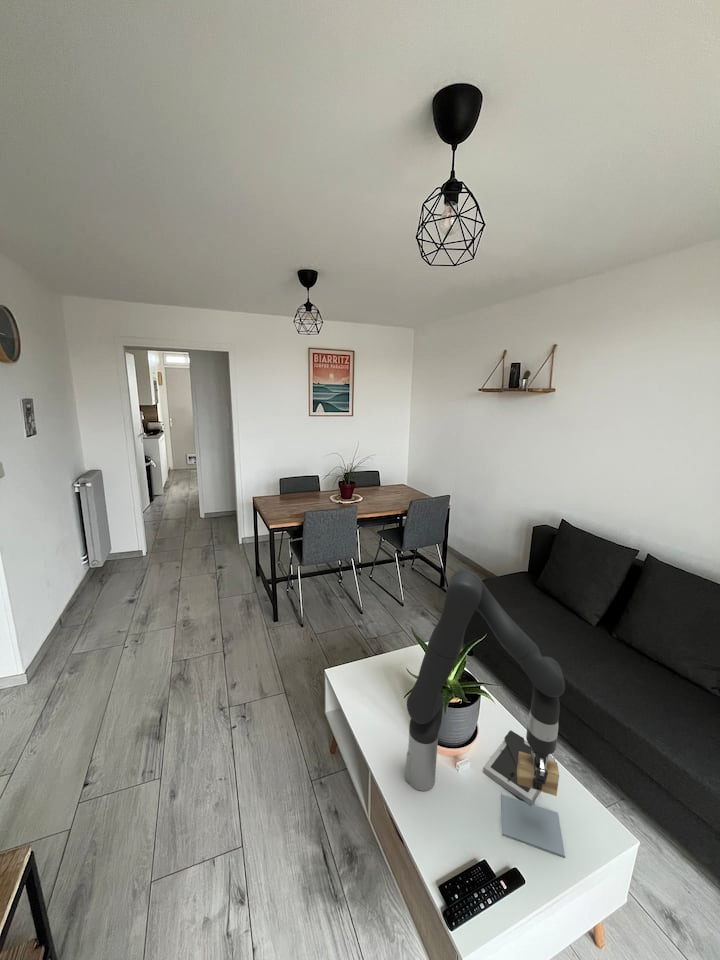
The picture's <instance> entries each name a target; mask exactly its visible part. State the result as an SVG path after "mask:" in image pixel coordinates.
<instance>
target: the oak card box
mask: <svg viewBox="0 0 720 960" xmlns="http://www.w3.org/2000/svg"><path fill="white" fill-rule="evenodd" d="M532 764H533V756H531V755H530V754H527V753H523V752H520V751H519V756H518V765H517V783H518V784H519V785H523V786H526V787H529V788H532V789H534V788H533V779H534V776H533V774H534V769H533V766H532ZM535 765H537V764H535ZM558 765H559V764H558V762H557V761H555V762H554V761H551V760H548V763H547V772H548V775H547V779H546V782H545V785H544V784H542V790H541V791H539V790H538V791H539V792H542V793H545V794H549V795H551V796H554V797H557V795H558V788H559V779H560V772H559V767H558ZM538 766H539V765H538ZM535 790H536V789H535Z"/></svg>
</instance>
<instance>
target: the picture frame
mask: <svg viewBox="0 0 720 960" xmlns="http://www.w3.org/2000/svg"><path fill="white" fill-rule="evenodd" d="M519 751H520V752H523V753H527V754H530V755H531V746H530V745H529V744H528V742H527V740H525V737H523V736H521V735H519V734H518V733H516V732H515V731H513V730H511V729H510V730H509V731H508V732H507V733H506V735H505V736H504V739H503V741H502V742H501V744H500V745H499V746H498V747H497V749H495V751H494V753H493V754H492V755H491V756H490V758H489V759H488V760H487V762H486V763H485V764H484V765H483V768H482V769H483V770H482V771H483V774H485V775H486V776H488V777H489V778H491V779H492V780H494V781H495V782H496V783H497V784H499V785H501V786H502V787H503V788H505V789H506V790H507V791H508V792H510V793H512V794H513V795H515V796H516V797H518V798H519V799H520V800H521V801H524V802H526V803H528V804H529V805H532V804H534V802H535V800H536V798H537V797H538V794H539V793H540V791H538V790H535V789H532V788H529V787H526V786H523V785H519V784H518V783H517V765H518V756H519ZM552 757H553V758H552ZM548 760H551V761H554V762H556V757H555V756H553V755H552V754H549V755H548Z"/></svg>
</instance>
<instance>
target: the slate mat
mask: <svg viewBox="0 0 720 960" xmlns="http://www.w3.org/2000/svg"><path fill="white" fill-rule="evenodd" d="M500 797H501V798H500V799H501V801H500V802H501V803H500V804H501V806H500V807H501V832H502V833H501V836H503V837H505V838H508V839H511V840H514V841H517V842H520V843H522V844H525V845H528V846H531V847H534V848H537V849H540V850H542V851H545V852H548V853H550V854H553V855H556V856H559V857H562V858H566V854H565V853H566V852H565V846H564V842H563V841H564V840H563V835H562V829H561V823H560V816H559V812H557V811H554V810H551V809H548V808H545V807H542V806H539V805H535V804H534V803H532V805H529V804H528V803H526V802H525V801H523V800H522V799H517V798H514V797H511V796H509V795H505V794H501V796H500Z"/></svg>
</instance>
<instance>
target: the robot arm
mask: <svg viewBox="0 0 720 960" xmlns="http://www.w3.org/2000/svg"><path fill="white" fill-rule="evenodd" d="M476 610H477V611H478V612H479V613H480V615H481V616H482V617H483V619H484V620H485V622H486V623H487V625H488V626H489V628H490V630H491V632H492V633H493V635H494V637H495V639H496V640H497V641H498V642H499V644H500V645H501V646H502V647H503V649H504V650H506V652H507V653H508V654H509V655H510V656H511V657H512V658H513V659H514V660H515V661H516V662H517V663H518V664H519V665H520V667H521V668H522V670H523V671H524V673H525V675H526V676H527V677H528V678H529V680H530V681H531V683H532V697H531V700H530V701H531V702H530V710H529V714H528V718H527V728H526V737H525V738H526V741H527V742H528V744H529V745H530V746H531V756H533V764H532V766H533V769H534V774H533V776H534V779H533V788H534V789H536V790H539V792H541V790H542V784H544V785H545V782H546V779H547V775H548V772H547V763H548V755H552V754H554V753H555V752H556V750H557V742H558V741H557V740H558V733H559V718H560V711H561V709H560V708H561V705H560V698H559V697H561V696H563V694H564V693H565V690H566V682H565V679H564V675H563V671H562V668H561V666H560V664H559V663H558V662H557V661H556V660H555V659H554V658H552V657H550V656H543V655H542V654H541V651H540V650H541V649H539V647H538V645H537V644H536V643H535V642H534V641H533V640H532V639H531V638H530V637H529V636H528V635H527V634H526V633H525V632H524V630H522V629H521V628H520V627H519V625H517V624H516V622H515V621H514V620H513V619H512V618H511V617H510V616H509V614H507V612H506V611H505V610H504V609H503V608H502V606H501V605H500V604H499V602H498V601H497V600H496V598H495V597H494V596H493V594H492V593H491V592H490V591H489V589H488V587H487V586H486V584H485V583H484V582H483V581H482V579H481V577H479V575H478V574H477V573H475V572H474V571H472V570H471V569H467V568H466V569H463V568H461V569H459V570H456V571H455V572H454V573H453V574H452V576H451V577H450V580H449V582H448V586H447V588H446V593H445V598H444V602H443V608H442V612H441V616H440V618H439V620H438V621H437V624H436V625H435V627H434V628H433V631H432V632H431V635H430V637H429V639H428V643H427V645H426V649H425V651H424V655H423V657H422V658H423V659H422V661H421V665H420V668H419V672H418V675H417V676H418V677H417V679H416V681H415V683H414V685H413V686H412V689H411V691H410V693H409V695H408V697H407V700H406V710H407V713H408V715H409V717H410V720H409V725H408V744H407V745H408V748H407V752H406V760H405V761H406V763H405V777H404V778H405V780H404V781H405V782H407V783H408V784H409V785H411V787H413V789H415V790H417V791H422V792H426V791H429V790H431V789H433V787H434V785H435V783H436V773H437V772H436V770H437V758H438V755H437V754H438V743H439V741H438V739H439V731H440V728H441V724H442V720H443V719H442V717H443V710H444V697H443V693H442V688H443V687H444V685H445V684H446V682H447V680H448V678H449V677H450V676H451V673H452V672H453V670H454V668H455V666H456V664H457V661H458V659H459V657H460V653H461V649H462V646H463V643H464V641H465V640H464V638H465V633H466V631H467V628H468V625H469V623H470V621H471V619H472V617H473V615H474V613H475V612H476ZM535 764H537V765H535ZM538 765H539V766H538Z"/></svg>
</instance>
